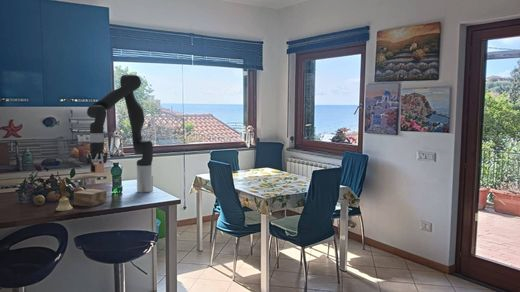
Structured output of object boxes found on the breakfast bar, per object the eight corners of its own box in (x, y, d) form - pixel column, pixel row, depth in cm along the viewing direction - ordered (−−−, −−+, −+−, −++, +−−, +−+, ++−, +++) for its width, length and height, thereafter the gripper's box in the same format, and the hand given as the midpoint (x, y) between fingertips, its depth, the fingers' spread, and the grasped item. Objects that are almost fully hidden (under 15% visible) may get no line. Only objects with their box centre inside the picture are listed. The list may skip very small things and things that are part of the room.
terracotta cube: (97, 171, 237) (97, 162, 236) (103, 172, 235) (103, 163, 234) (90, 172, 232) (90, 163, 232) (96, 173, 230) (96, 164, 230)
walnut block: (89, 200, 242) (89, 188, 242) (106, 202, 238) (106, 190, 237) (73, 204, 231) (73, 192, 230) (91, 207, 227) (90, 194, 226)
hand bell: (54, 211, 216) (53, 181, 214) (57, 207, 224) (56, 178, 222) (71, 210, 218) (70, 180, 216) (74, 206, 226) (73, 177, 224)
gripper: (101, 140, 240) (102, 169, 241) (81, 141, 227) (81, 172, 229) (111, 141, 237) (111, 170, 238) (91, 142, 224) (91, 173, 225)
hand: (96, 171), depth 233 cm, fingers closed on terracotta cube, 5 cm apart
